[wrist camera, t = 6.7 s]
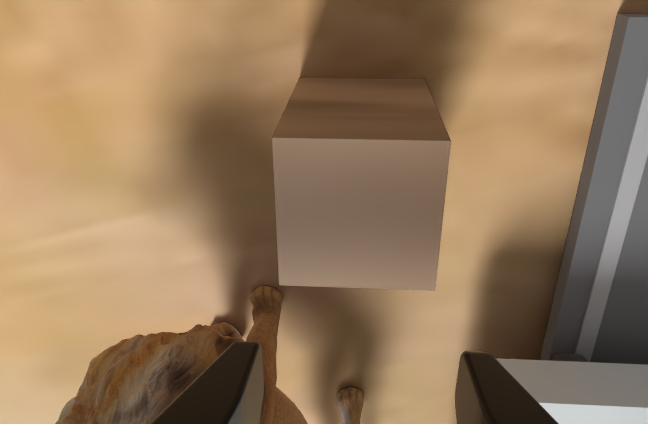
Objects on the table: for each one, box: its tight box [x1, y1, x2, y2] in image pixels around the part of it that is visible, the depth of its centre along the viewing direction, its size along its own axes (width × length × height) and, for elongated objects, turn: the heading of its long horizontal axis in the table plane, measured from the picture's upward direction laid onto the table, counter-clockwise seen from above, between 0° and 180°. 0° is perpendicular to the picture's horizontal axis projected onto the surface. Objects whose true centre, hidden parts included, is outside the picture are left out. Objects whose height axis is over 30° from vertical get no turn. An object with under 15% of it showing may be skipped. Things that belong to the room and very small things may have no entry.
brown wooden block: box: [272, 77, 451, 291], centre depth 16 cm, size 4×4×6 cm
